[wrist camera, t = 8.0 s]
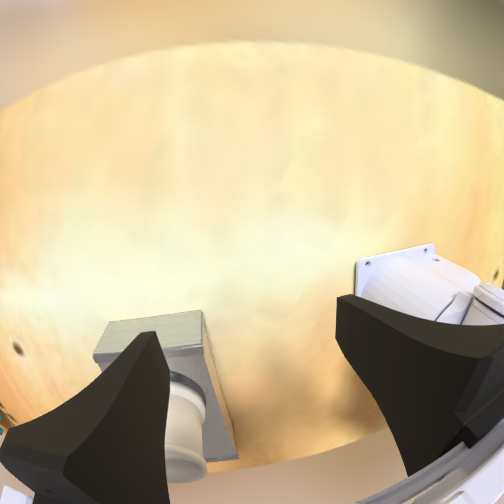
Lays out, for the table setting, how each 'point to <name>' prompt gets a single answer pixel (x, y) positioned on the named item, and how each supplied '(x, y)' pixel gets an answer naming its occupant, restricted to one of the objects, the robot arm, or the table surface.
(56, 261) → the table surface
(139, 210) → the table surface
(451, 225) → the table surface
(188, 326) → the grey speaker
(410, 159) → the table surface
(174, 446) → the white cabinet knob
